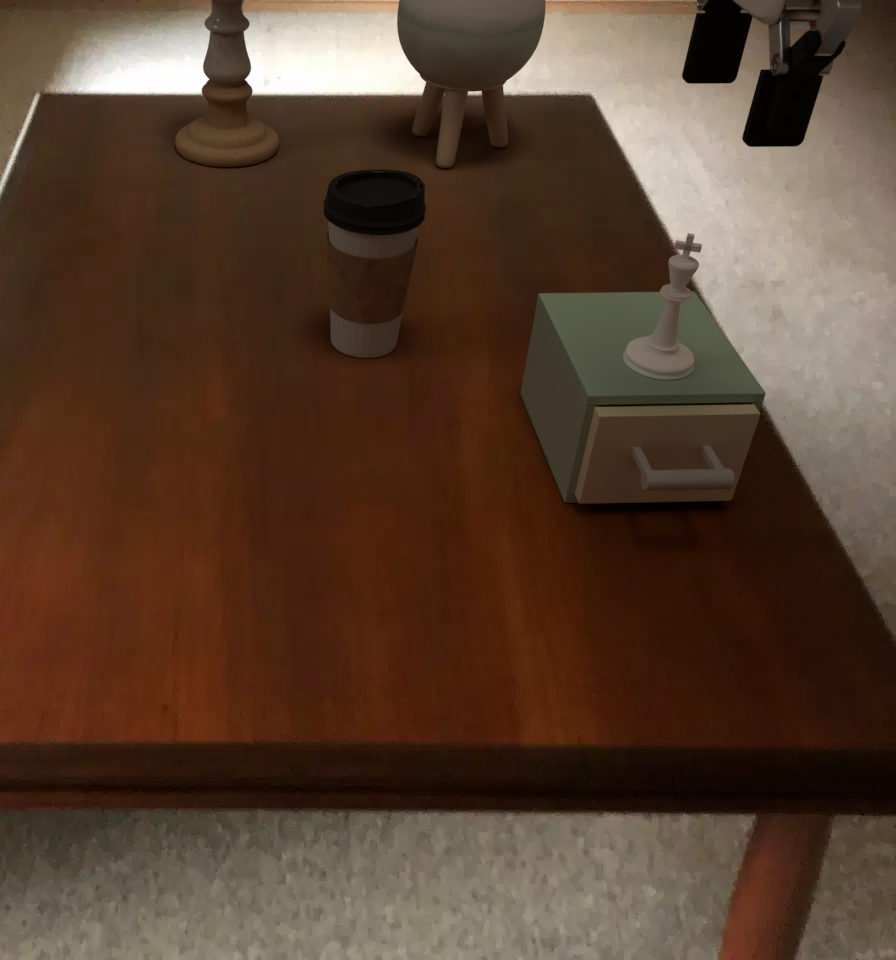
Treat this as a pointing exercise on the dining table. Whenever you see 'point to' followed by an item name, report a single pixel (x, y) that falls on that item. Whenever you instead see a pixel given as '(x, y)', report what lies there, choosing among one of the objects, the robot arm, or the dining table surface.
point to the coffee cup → (371, 256)
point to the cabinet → (616, 368)
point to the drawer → (665, 452)
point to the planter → (466, 59)
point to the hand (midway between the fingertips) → (737, 111)
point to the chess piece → (667, 324)
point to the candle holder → (227, 99)
